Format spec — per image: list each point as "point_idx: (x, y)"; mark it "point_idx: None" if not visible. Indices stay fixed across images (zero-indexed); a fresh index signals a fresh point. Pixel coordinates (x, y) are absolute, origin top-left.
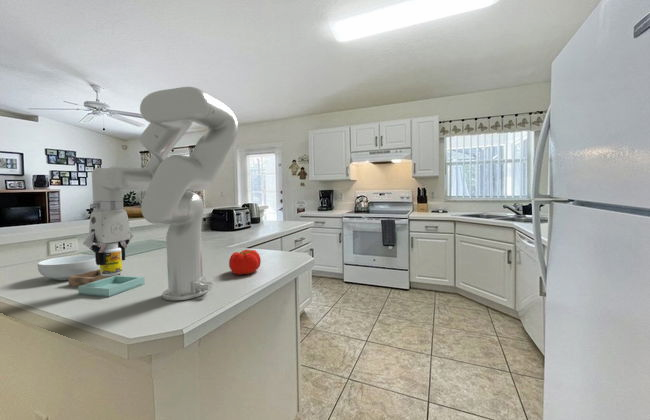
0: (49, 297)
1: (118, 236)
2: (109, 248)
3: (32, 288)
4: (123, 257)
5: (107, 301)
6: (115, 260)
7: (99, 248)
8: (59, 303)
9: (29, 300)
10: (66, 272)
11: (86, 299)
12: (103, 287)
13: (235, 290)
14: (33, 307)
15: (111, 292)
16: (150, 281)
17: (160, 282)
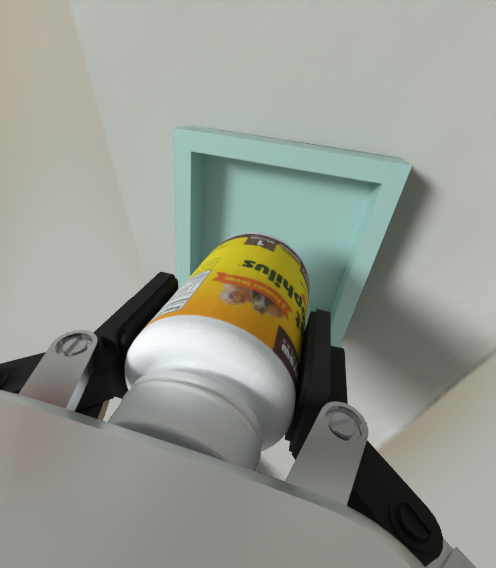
0: (359, 391)
1: (56, 525)
2: (245, 405)
3: (271, 465)
4: (162, 286)
5: (486, 102)
6: (260, 279)
7: (355, 466)
8: (445, 322)
9: (381, 421)
10: None
11: (414, 251)
12: (374, 222)
13: None
14: (470, 373)
15: (391, 158)
16: (147, 130)
17: (146, 37)
